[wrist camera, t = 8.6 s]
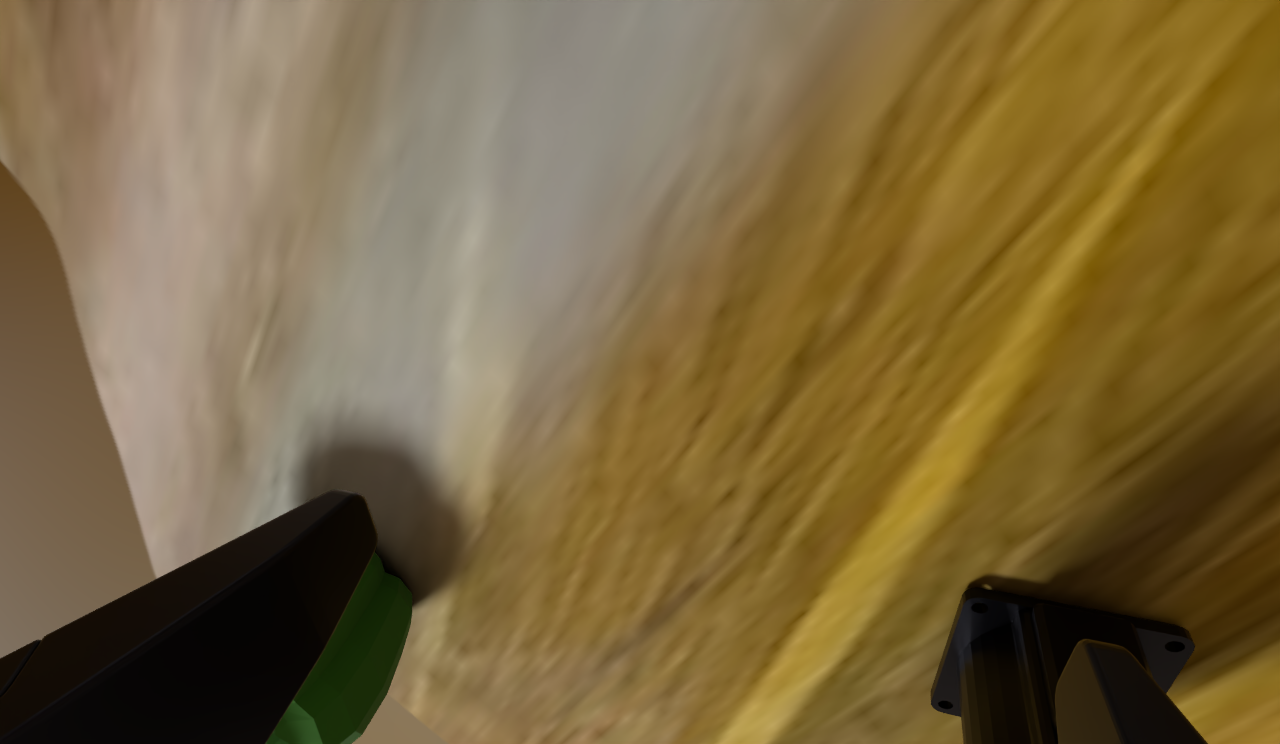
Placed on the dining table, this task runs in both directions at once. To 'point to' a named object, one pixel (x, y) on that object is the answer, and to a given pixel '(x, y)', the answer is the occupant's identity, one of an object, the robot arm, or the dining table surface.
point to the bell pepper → (352, 665)
